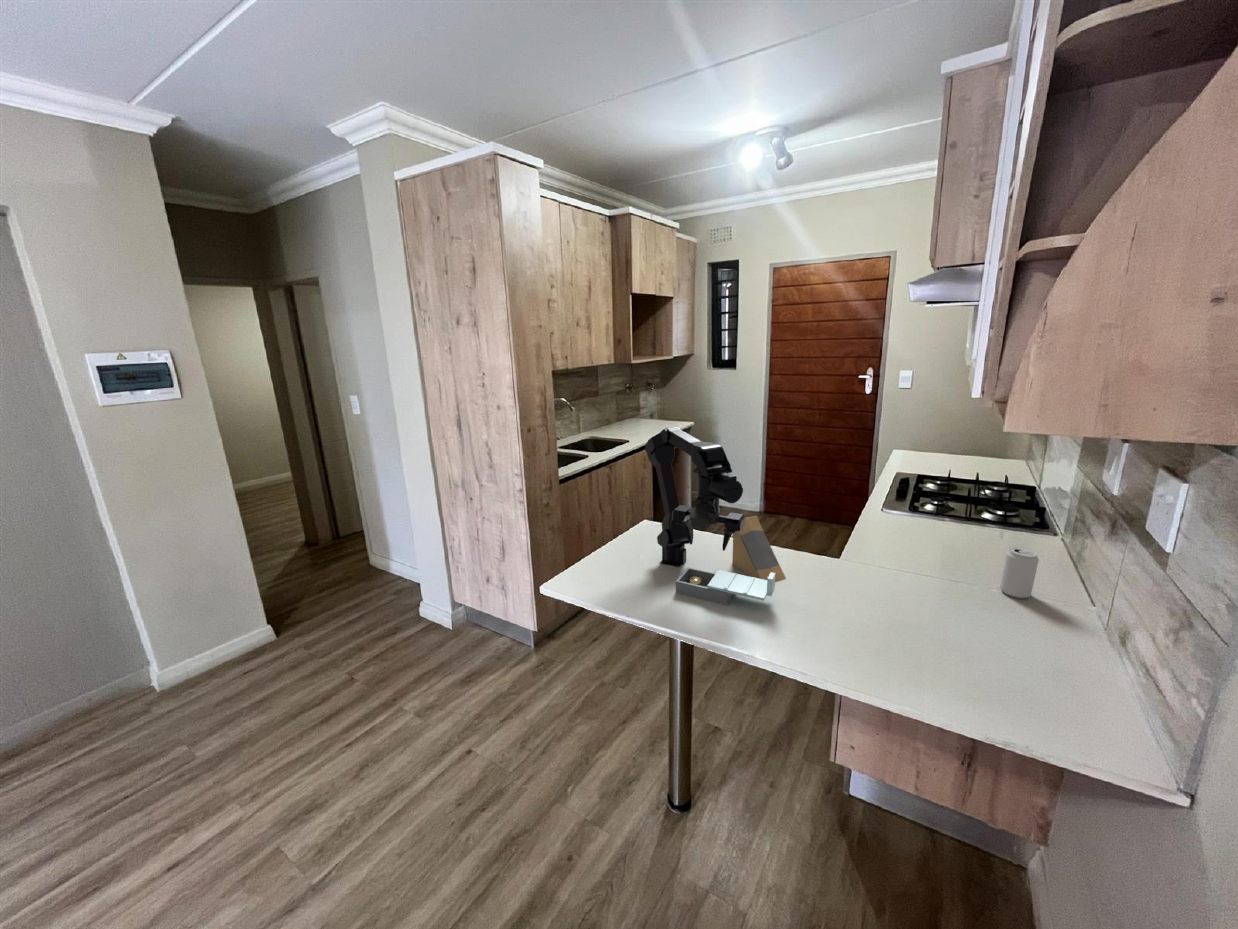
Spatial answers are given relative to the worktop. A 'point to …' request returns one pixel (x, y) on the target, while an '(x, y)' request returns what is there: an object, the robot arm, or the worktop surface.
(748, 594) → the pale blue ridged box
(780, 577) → the sandwich container
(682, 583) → the tub
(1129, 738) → the worktop surface
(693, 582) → the brass slug
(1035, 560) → the beverage can
